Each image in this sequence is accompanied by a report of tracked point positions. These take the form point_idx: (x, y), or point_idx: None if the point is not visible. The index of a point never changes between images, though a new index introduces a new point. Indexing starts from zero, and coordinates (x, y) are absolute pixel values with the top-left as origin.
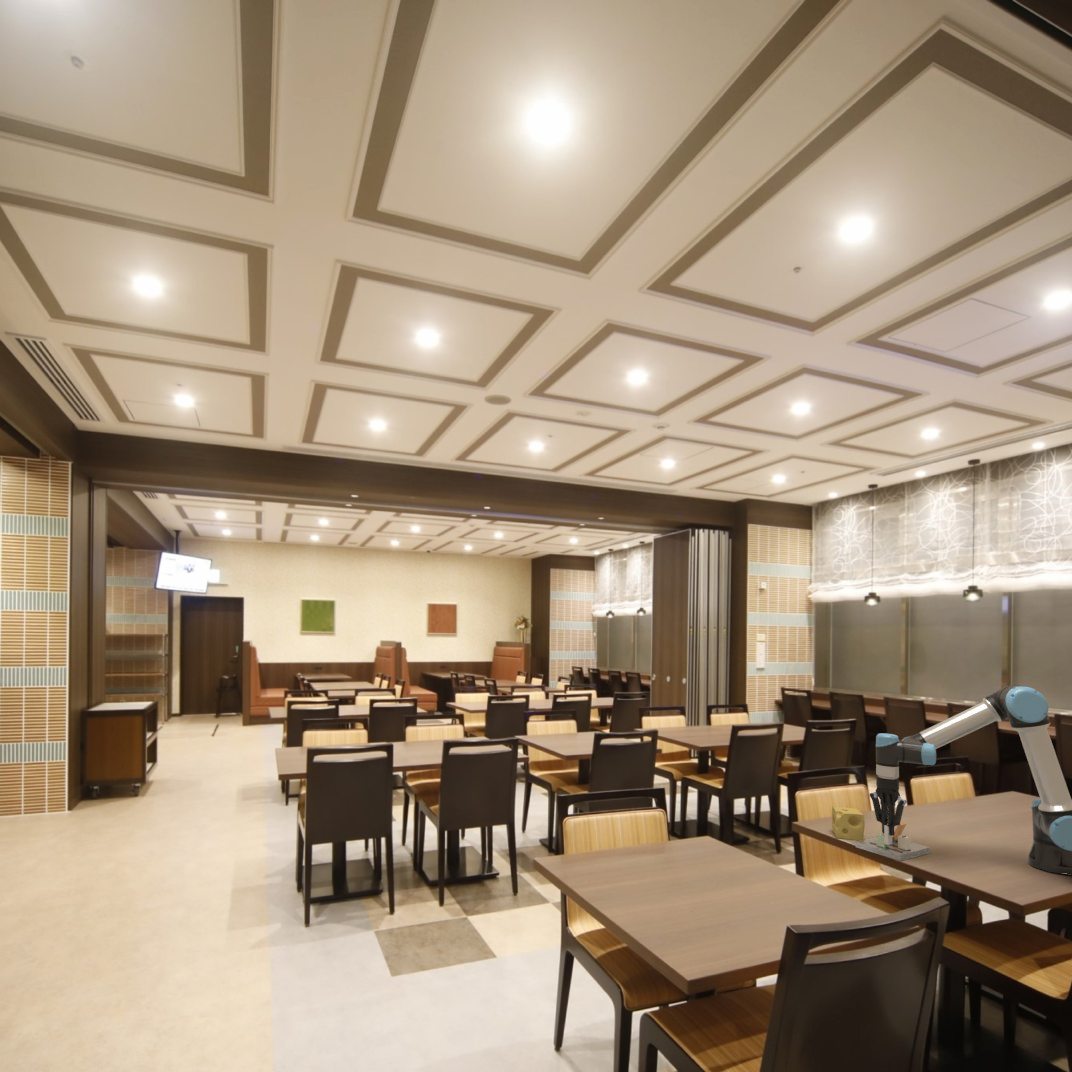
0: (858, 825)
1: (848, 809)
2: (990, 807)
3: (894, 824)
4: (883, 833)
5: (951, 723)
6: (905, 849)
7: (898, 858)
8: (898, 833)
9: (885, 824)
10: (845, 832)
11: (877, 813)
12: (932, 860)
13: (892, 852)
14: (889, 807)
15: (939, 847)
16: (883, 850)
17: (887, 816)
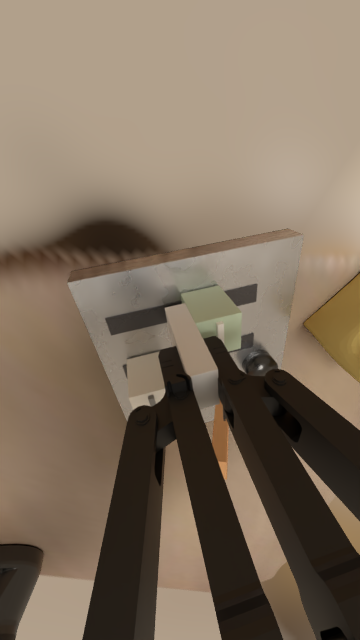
0: (358, 347)
1: None
2: (260, 562)
3: (140, 413)
4: None
5: None
6: (129, 360)
7: (80, 272)
8: (214, 418)
9: (218, 383)
10: None
11: (316, 420)
12: (68, 395)
13: (115, 277)
14: (237, 591)
15: (166, 465)
16: (160, 263)
17: (242, 452)
